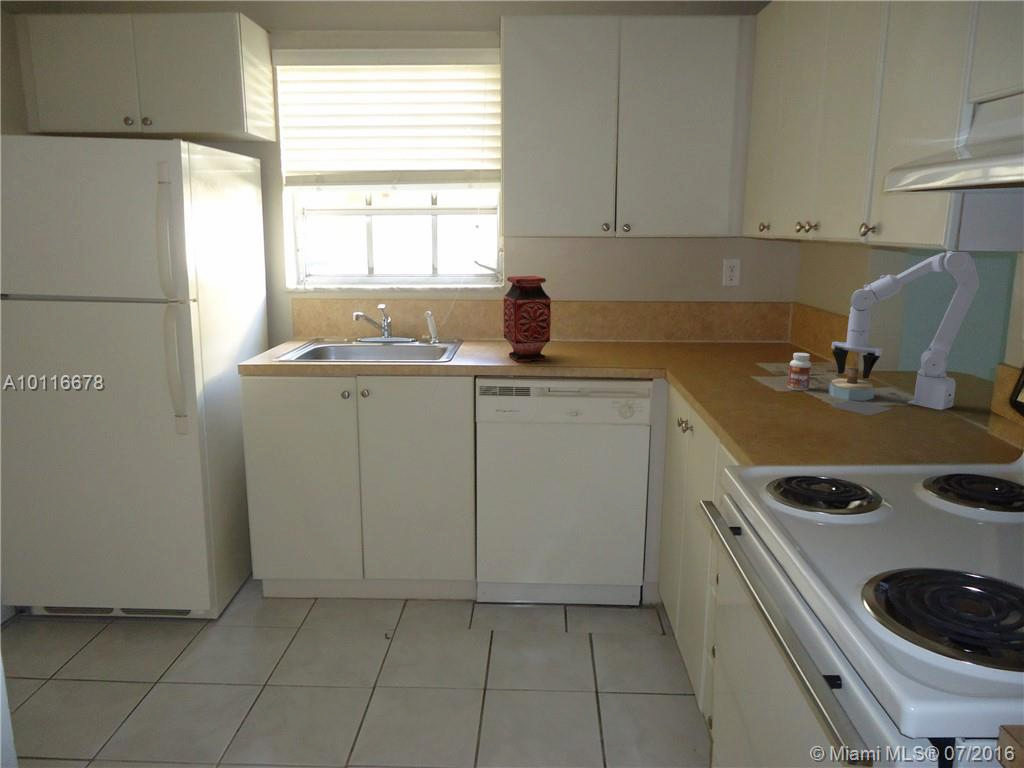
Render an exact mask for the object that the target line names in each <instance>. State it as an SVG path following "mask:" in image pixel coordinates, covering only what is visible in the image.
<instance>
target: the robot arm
mask: <svg viewBox="0 0 1024 768" xmlns="http://www.w3.org/2000/svg"><path fill="white" fill-rule="evenodd" d="M944 269H945V270H946V271H947V272H948V273H949V274H951V275H952V276H953V279H954V281H955V282H956V285H957V288H956V290H955V292H954V294H953V296H952V299H951V301H950V302H949V305H948V308H947V309H946V312H945V314H944V316H943V318H942V321H941V323H940V325H939V327H938V329H937V330H936V334H935V336H934V337H933V339H932V341H931V343H930V345H929V346H928V348H927V349H926V350H925V351H923V353H921V355H920V360H919V361H920V369H919V370H917V375H916V382H915V388H914V389H915V390H914V395H913V399H912V400H909V401H907V403H906V404H910V405H915V406H920V407H925V408H930V409H934V410H935V409H936V410H939V411H940V410H941V411H942V410H945V409H949V408H953V407H954V406H953V405H954V399H955V392H956V387H957V386H956V380H955V378H953V377H949V376H947V372H946V369H947V367H948V358H949V357H948V356H949V354H950V352H951V349H952V345H953V343H954V340H955V338H956V336H957V335H958V332H959V330H960V327H961V325H962V323H963V321H964V319H965V317H966V315H967V313H968V310H969V309H970V306H971V304H972V302H973V300H974V297H975V296H976V293H977V291H978V289H979V287H980V279H979V275H978V272H977V267H976V262H975V261H974V259H973V258H972V257H971V255H970V253H968V252H967V251H966V252H952V251H948V250H946V252H941V253H938V254H935V255H933V256H931V257H929V258H926V259H925V260H923V261H921V262H919V263H917V264H915V265H914V266H912V267H909V268H908V269H906V270H904V271H903V272H901V273H899V274H896V275H894V274H887V275H885V274H883V275H881V276H879V279H877V280H875V281H873V282H872V283H870V284H867V283H865V284H864V285H863V288H859V289H857V290H855V291H854V292H853V293H852V295H851V297H850V304H851V307H850V309H849V311H850V312H849V315H848V325H847V334H846V342H845V341H843V342H842V341H832V342H831V347H830V348H831V349H832V355H833V357H834V359H835V363H836V367H837V372H838V375H841V374H845V371H846V364H847V363H846V361H847V358H848V354H849V352H856V353H861V354H862V359H863V371H862V379H864V380H865V379H869V378H870V375H871V373H872V370H873V368H874V366H875V365H876V363H877V361H878V360H879V359H880V358H881V357H880V356H882V355H883V348H881V347H877V346H876V347H875V346H872V345H868V343H869V335H870V334H869V333H870V326H871V318H872V315H871V310H872V309H871V308H872V306H873V303H879V302H881V301H883V300H886V299H888V298H889V297H892V296H894V295H895V294H898V293H899V292H901V288H902V286H903V285H906V284H908V283H910V282H912V281H914V280H917V279H919V278H921V277H923V276H925V275H927V274H929V273H937V272H938V273H942V272H943V273H944ZM952 406H953V407H952Z"/></svg>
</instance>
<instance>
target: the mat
mask: <svg viewBox="0 0 1024 768" xmlns="http://www.w3.org/2000/svg"><path fill="white" fill-rule="evenodd" d="M828 407H829V408H835V409H838V410H842V411H847V412H852V413H855V414H862V415H863V416H864V415H865V416H868V417H869V416H873V415H877V414H881V413H884V412H887V411H891V410H893V408H890V407H886V406H881V405H877V404H873V403H868V402H863V401H860V400H845V401H843V402H839V403H835V404H831V405H828Z"/></svg>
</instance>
